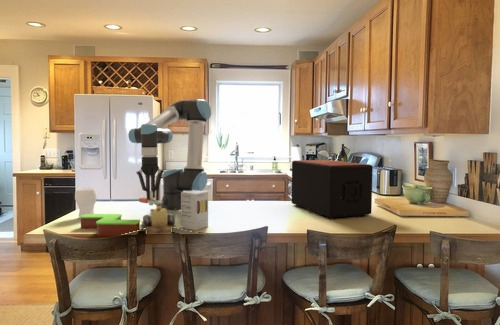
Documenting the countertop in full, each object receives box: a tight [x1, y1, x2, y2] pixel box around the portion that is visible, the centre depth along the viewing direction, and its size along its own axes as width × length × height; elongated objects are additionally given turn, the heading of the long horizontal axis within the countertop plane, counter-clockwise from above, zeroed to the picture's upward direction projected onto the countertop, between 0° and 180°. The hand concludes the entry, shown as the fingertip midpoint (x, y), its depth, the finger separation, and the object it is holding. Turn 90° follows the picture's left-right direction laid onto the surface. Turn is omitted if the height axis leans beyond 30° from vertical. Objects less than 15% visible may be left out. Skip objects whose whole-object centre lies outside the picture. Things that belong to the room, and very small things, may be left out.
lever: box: [138, 197, 163, 206], centre depth 172 cm, size 14×4×2 cm, turn 53°
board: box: [141, 220, 177, 235], centre depth 170 cm, size 14×20×2 cm
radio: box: [291, 159, 374, 220], centre depth 211 cm, size 45×27×28 cm, turn 20°
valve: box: [142, 205, 176, 227], centre depth 169 cm, size 14×6×10 cm, turn 110°
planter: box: [80, 213, 141, 237], centre depth 165 cm, size 30×18×6 cm, turn 90°
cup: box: [74, 187, 98, 220], centre depth 190 cm, size 11×11×15 cm
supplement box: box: [180, 190, 209, 231], centre depth 171 cm, size 10×9×17 cm
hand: (150, 204), depth 176 cm, fingers closed
